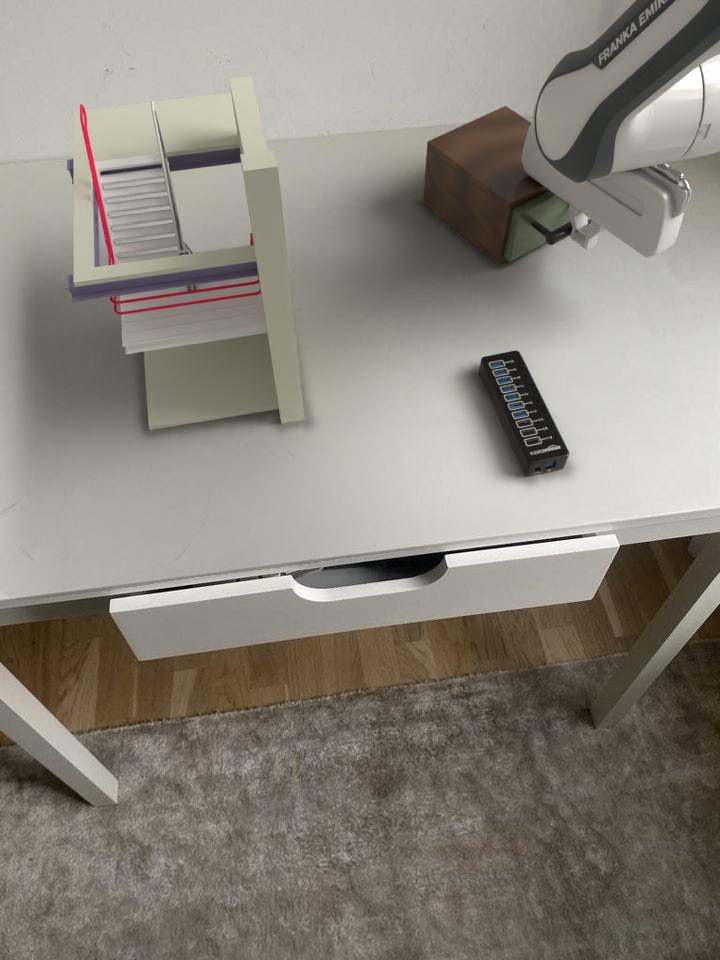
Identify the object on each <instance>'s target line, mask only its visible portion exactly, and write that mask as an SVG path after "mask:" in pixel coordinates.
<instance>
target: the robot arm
mask: <svg viewBox="0 0 720 960" xmlns="http://www.w3.org/2000/svg"><path fill="white" fill-rule="evenodd" d="M596 16H597V17H596V19H595V22H594V27H593V29H592V34H591V39H590V43H589V45H588V46H587V47H585V48H583V49H579V50H575V51H570V52H568V53H567V54H565V55H564V56H563V57H562V58H561V59H560V60H559V61H558V62H557V64H556V65H555V67H553V69H552V71H551V72H550V73H549V75H548V76H547V78H546V79H545V81H544V83H543V85H542V87H541V89H540V91H539V94H538V95H537V96H538V97H537V100H536V103H534V106H533V111H532V119H533V122H531V123H532V124H531V125H530V127H529V129H528V132H527V135H526V139H525V143H524V148H523V153H522V165H523V168H524V171H525V173H526V174H527V175H529V176H530V177H532V178H533V179H535V180H536V181H537V182H539V183H540V184H542V185H543V186H545V187H546V188H547V189H549V190H550V191H552V192H553V193H555V194H556V195H557V196H559V197H560V198H562V199H563V200H565V201H566V202H567V203H569V204H570V205H569V209H568V211H569V216H570V220H571V224H572V227H573V228H572V231H571V235H570V236H569V238H570V239H571V240H572V241H573V242H575V243H576V244H578V245H579V246H580V247H582V248H583V249H584V250H585V251H588V250H590V249H593V248H594V247H595V246H596V245H597V244H598V241H599V237H600V234H602V233H603V232H605V231H607V232H608V233H610V234H612V235H613V236H614V237H616V238H617V239H619V241H621V242H623V243H624V244H626V245H627V246H628V247H630V248H632V249H633V250H634V251H635V252H637V253H638V254H640V255H641V256H643V257H644V258H648V259H649V258H651V257H654V256H655V257H656V256H657V255H659V254H662V253H664V252H666V251H667V250H668V249H669V248H671V247H672V246H673V245H674V244H675V243H676V241H677V239H678V236H679V232H680V230H681V226H682V223H683V218H684V214H685V210H686V209H687V207H688V204H689V201H690V199H691V196H692V189H691V188H690V185H689V183H688V181H687V179H685V177H686V175H685V173H684V172H683V171H682V170H681V169H679V168H677V167H675V166H672V165H671V163H674V162H678V161H685V160H688V159H694V158H700V157H704V156H708V155H711V154H715V153H718V152H720V0H601V2H600V6H599V10H598V13H597V15H596ZM587 217H589V218H590V219H592V220H591V224H590V225H589V224H588V221H587Z"/></svg>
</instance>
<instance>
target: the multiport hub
mask: <svg viewBox="0 0 720 960" xmlns="http://www.w3.org/2000/svg"><path fill="white" fill-rule="evenodd" d="M478 376H479V379H480V380H481V383H482V384H483V387H484V389H485V391H486V393H487V396H488V398H489V401H490V403H491V405H492V407H493V409H494V412H495V414H496V416H497V418H498V420H499V423H500V425H501V427H502V429H503V432H504V434H505V436H506V438H507V440H508V443H509V444H510V448H511V449H512V452H513V454H514V457H515V459H516V461H517V463H518V466H519V468H520V470H521V472H522V474H523V475H524V476H525V477H532V476H533V477H534V476H537V475H538V476H539V475H542V474H546V473H551V472H555V471H556V472H557V471H560V470H564V468H565V467H566V464H567V462H568V459H569V456H570V451H569V449H568V447H567V444H566V442H565V441H564V439H563V437H562V435H561V432H560V431H559V428H558V426H557V425H556V423H555V420H554V418H553V416H552V415H551V412H550V411H549V408H548V407H547V403H546V402H545V400H544V398H543V397H542V394H541V392H540V390H539V388H538V387H537V384H536V382H535V380H534V378H533V376H532V374H531V372H530V369H529V368H528V366H527V364H526V362H525V360H524V358H523V356H522V354H521V352H520V350H510V351H506V352H500V353H495V354H491V355H486V356H485V355H484V356H482V357H481V358H480V363H479V368H478Z"/></svg>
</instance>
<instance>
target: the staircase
mask: <svg viewBox="0 0 720 960" xmlns="http://www.w3.org/2000/svg"><path fill="white" fill-rule="evenodd" d="M228 81H229V89H230V92H223V93H215V94H207V95H199V96H190V97H181V98H173V99H165V100H155V101H154V100H153V99H152V100H150V101H149V102H139V103H138V102H137V103H131V104H122V105H114V106H105V107H96V108H89V109H86V107H85V106H84V104H83V103H80V104H79V110H73V119H72V121H73V122H72V123H73V127H72V128H73V141H72V142H73V143H72V144H73V145H72V146H73V148H72V149H73V152H72V153H73V158H72V159H66V171H68V172H69V174H70V177H71V184H72V185H73V187H72V188H73V193H72V195H73V196H72V197H73V200H72V201H73V208H72V209H73V214H72V215H73V216H72V217H73V218H72V219H73V220H72V221H73V224H72V225H73V228H72V229H73V236H72V237H73V241H72V242H73V245H72V246H73V253H72V254H73V257H72V258H73V261H72V263H73V264H72V265H73V267H72V269H73V272H72V274H69V275H68V274H67V275H65V289H66V290H69V292H70V295H71V303H79V302H85V301H93V300H98V299H107V298H109V301H110V303H112V304H113V312H114V313H115V314H116V315H119V316H120V321H121V323H120V324H121V346H122V348H124V355H130V354H137V353H142V352H143V363H144V379H145V393H146V406H147V407H146V408H147V422H148V424H147V425H148V429H149V431H153V430H159V429H166V428H172V427H178V426H184V425H190V424H197V423H203V422H208V421H209V422H210V421H215V420H220V419H227V418H233V417H239V416H246V415H250V414H251V415H252V414H258V413H264V412H270V411H277V410H278V412H279V418H280V424H282V425H284V424H288V423H295V422H301V421H306V416H305V408H304V399H303V389H302V387H303V386H302V378H301V370H300V360H299V351H298V342H297V341H298V340H297V332H296V323H295V322H296V321H295V314H294V304H293V296H292V287H291V285H292V284H291V275H290V268H289V256H288V249H287V240H286V230H285V229H286V228H285V220H284V211H283V201H282V193H281V184H280V174H279V166H278V161H277V157H276V153H275V150H274V149H273V150H269V148H268V144H267V139H266V134H265V130H264V126H263V122H262V117H261V113H260V109H259V104H258V100H257V96H256V92H255V88H254V87H255V86H254V83H253V80H252V76H251V75H250V76H242V77H232V78H229V79H228ZM235 164H240V166H241V171H242V175H243V181H244V190H245V197H246V202H247V203H246V204H247V209H248V215H249V222H250V229H251V232H249V236H250V237H249V244H250V245H245V246H238V247H231V248H230V247H229V248H221V249H216V250H209V251H201V252H195V253H194V251H193V250H192V249H191V248H190V247H189V245H188V243H186V242H185V241H184V237H183V233H182V228H181V223H180V222H181V221H180V216H179V212H178V207H177V201H176V196H175V195H176V194H175V191H174V186H173V179H172V175H171V172H179V171H187V170H195V169H196V170H197V169H203V168H210V167H211V168H213V167H218V166H226V165H235ZM158 179H164V181H157V182H150V183H141V184H135V185H134V184H133V185H125V186H120V187H119V186H118V187H110V188H104V186H111V185H120V184H128V183H134V182H141V181H151V180H158ZM161 193H167V194H166V195H159V196H152V197H151V196H150V197H142V198H136V199H128V200H120V201H114V202H107V201H108V200H113V199H123V198H130V197H137V196H145V195H152V194H153V195H154V194H161ZM161 207H169V208H167V209H159V210H152V211H145V212H136V213H129V214H122V215H114V216H110V214H116V213H125V212H132V211H140V210H148V209H156V208H161ZM99 215H100V220H101V225H102V231H103V236H104V241H105V244H106V250H107V257H108V259H107V261H108V265H101V263H100V262H101V261H100V260H101V259H100V258H101V257H100V231H99V230H100V227H99V225H100V224H99ZM171 220H172V222H167V223H160V224H159V223H158V224H152V225H144V226H138V227H131V228H123V229H116V230H113V228H118V227H127V226H134V225H142V224H148V223H156V222H162V221H163V222H164V221H171ZM171 234H174V236H173V235H172V236H167V237H160V238H152V239H145V240H138V241H129V240H134V239H141V238H150V237H156V236H164V235H171ZM126 240H127V241H129V242H123V243H116V242H119V241H120V242H121V241H126ZM171 248H177V249H173V250H164V249H171ZM155 250H157V251H158V250H163V251H158V252H151V253H143V254H136V255H130V256H129V255H128V254H134V253H142V252H150V251H155ZM120 255H128V256H123V257H119V256H120ZM117 297H119V300H117ZM117 305H120V306H119V307H120V311H119V310H118V309H117V307H118V306H117Z"/></svg>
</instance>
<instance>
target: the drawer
mask: <svg viewBox="0 0 720 960" xmlns="http://www.w3.org/2000/svg"><path fill="white" fill-rule="evenodd" d="M569 205H570V204H569V203H567V202H566V201H565V200H563V199H562V198H560V197H559V196H557V195H556V194H555V193H553V192H552V191H550V190H547V191H545V192H543V193H541V194H539V195H537V196H536V197H535V198H533V199H531V200H529V201H527V202H525V203H523V204H522V205H520V206H518V207H516V208H514V209H513V211H512V216H511V221H510V227H509V232H508V237H507V242H506V247H505V252H504V257H505V258H506V259H507V260H506V261H508V262H512V261H514V260H516V259H518V258H520V257H521V256H524V255H525V254H527V253H529V252H531V251H533V250H534V249H536V248H538V247H540V246H541V245H543V244H546V243H547V244H548V245H549V246H553V245H556V244H557V243H559V242H561V241H563V240H565V239H567V238H568V237H570V235H571V231H572V228H573V227H572V224H571V220H570V216H569V211H568V209H569ZM591 220H592V219H590V218H589V217H587V221H588V224H589V225H590V224H591ZM590 226H591V225H590Z"/></svg>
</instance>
